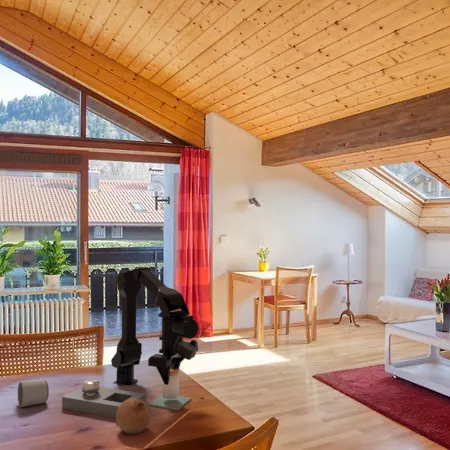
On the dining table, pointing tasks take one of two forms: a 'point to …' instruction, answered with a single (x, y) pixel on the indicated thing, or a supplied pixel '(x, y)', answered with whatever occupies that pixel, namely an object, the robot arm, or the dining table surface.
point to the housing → (99, 401)
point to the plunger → (90, 387)
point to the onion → (133, 416)
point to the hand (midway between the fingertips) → (170, 382)
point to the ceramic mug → (32, 392)
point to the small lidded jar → (171, 385)
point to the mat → (170, 402)
